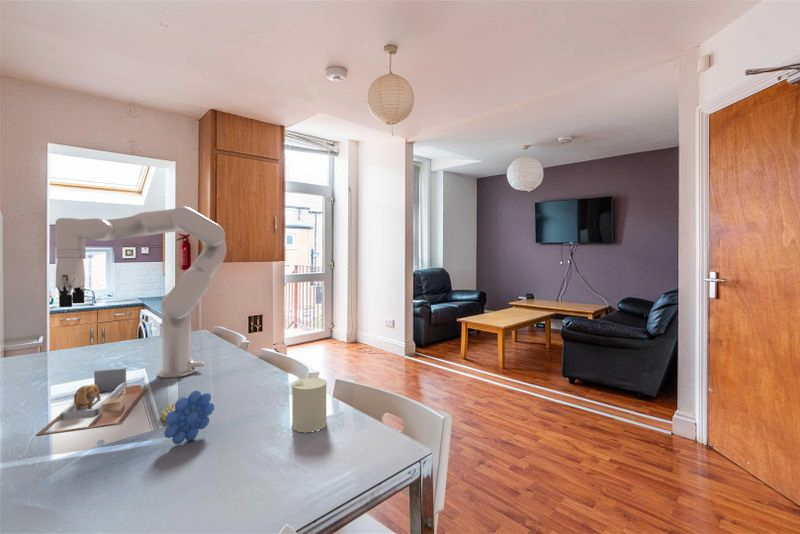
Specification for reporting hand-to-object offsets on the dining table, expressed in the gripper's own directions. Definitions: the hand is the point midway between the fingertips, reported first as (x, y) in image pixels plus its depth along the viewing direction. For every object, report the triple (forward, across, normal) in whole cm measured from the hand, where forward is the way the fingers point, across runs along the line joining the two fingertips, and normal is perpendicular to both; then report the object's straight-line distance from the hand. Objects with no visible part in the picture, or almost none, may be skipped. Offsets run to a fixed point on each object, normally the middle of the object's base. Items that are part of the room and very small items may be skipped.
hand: (72, 305), depth 128 cm
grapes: (+28, +55, +42) cm, 75 cm away
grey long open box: (+28, +20, +12) cm, 37 cm away
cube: (+27, +34, +21) cm, 48 cm away
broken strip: (+28, +28, +21) cm, 45 cm away
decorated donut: (+29, +41, +39) cm, 63 cm away
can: (+28, +58, +71) cm, 96 cm away
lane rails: (+28, +28, +16) cm, 43 cm away
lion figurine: (+29, +26, +13) cm, 41 cm away
